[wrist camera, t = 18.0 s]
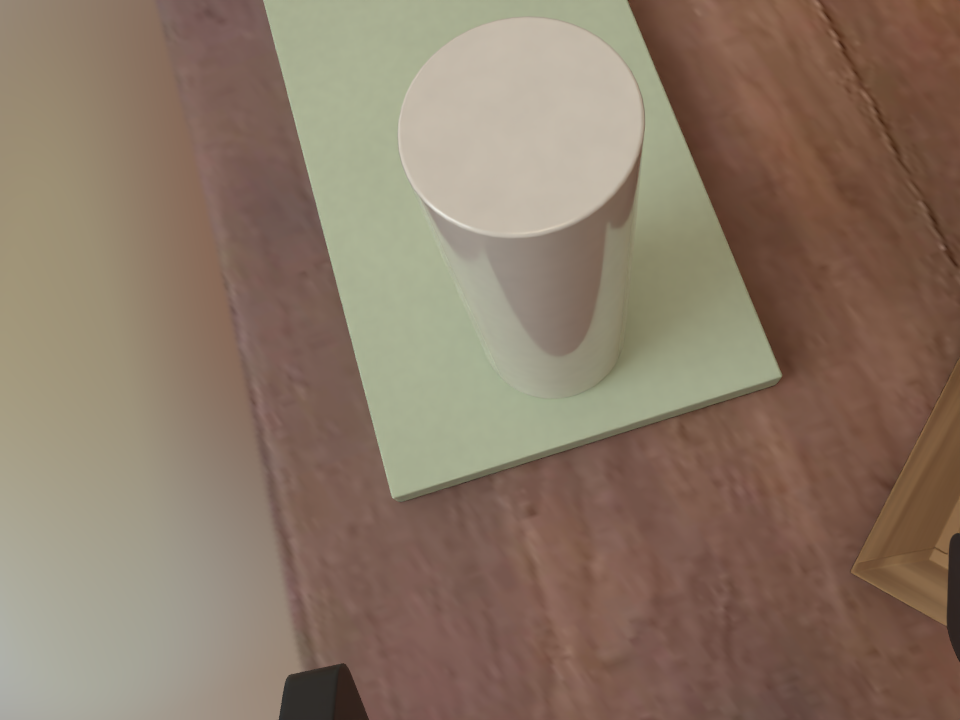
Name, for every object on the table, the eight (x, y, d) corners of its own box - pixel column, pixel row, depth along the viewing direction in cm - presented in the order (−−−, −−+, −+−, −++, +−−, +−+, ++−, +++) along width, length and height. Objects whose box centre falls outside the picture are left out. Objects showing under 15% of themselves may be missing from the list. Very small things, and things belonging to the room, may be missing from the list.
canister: (637, 274, 27) (665, 28, 16) (611, 411, 26) (620, 255, 15) (498, 251, 28) (428, 2, 17) (467, 385, 27) (370, 216, 16)
